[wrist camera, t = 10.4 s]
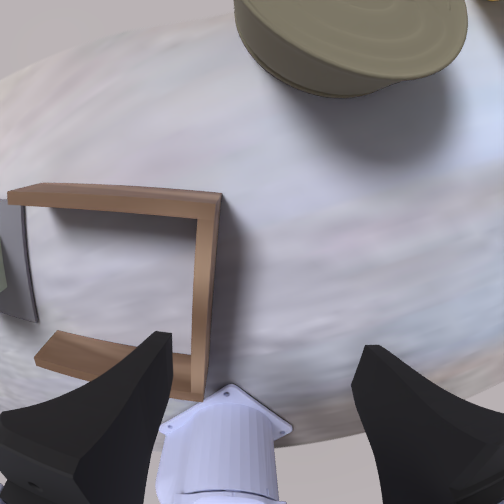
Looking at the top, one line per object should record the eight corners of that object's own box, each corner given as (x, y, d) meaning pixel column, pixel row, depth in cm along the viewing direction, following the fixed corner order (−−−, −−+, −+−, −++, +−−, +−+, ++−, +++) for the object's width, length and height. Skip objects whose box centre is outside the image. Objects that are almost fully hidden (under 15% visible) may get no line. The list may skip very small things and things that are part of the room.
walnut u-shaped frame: (208, 365, 22) (203, 402, 18) (59, 338, 21) (36, 365, 17) (221, 192, 18) (215, 203, 14) (42, 182, 17) (7, 191, 14)
